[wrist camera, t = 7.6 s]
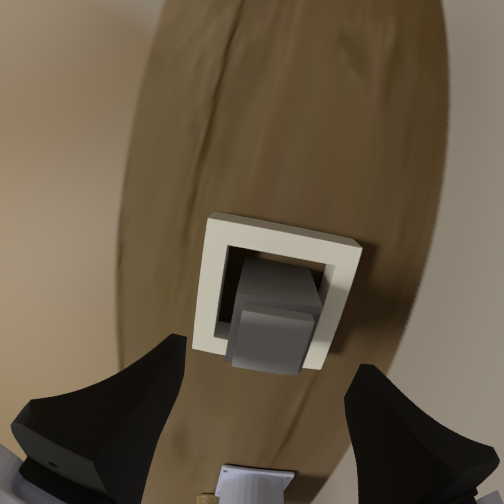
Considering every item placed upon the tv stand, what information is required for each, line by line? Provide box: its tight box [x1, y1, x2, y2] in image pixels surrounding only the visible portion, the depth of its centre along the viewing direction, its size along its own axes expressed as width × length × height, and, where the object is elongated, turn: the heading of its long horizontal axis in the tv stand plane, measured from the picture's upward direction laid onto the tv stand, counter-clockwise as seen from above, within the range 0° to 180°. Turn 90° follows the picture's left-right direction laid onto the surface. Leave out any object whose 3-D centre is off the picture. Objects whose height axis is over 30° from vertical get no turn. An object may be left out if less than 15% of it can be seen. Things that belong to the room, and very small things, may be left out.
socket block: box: [192, 212, 362, 370], centre depth 18 cm, size 8×8×2 cm
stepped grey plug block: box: [224, 256, 323, 376], centre depth 16 cm, size 4×4×6 cm
